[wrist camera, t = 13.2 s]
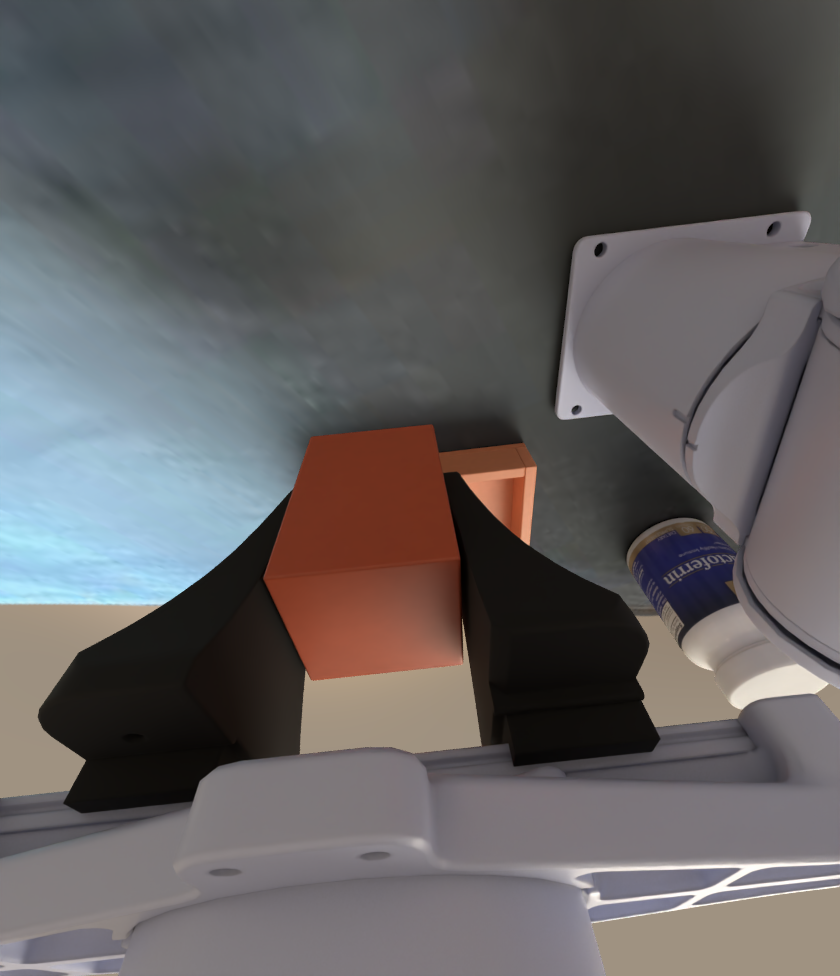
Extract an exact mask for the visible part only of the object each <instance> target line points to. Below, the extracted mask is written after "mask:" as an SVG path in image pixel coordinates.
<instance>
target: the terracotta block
mask: <svg viewBox="0 0 840 976" xmlns="http://www.w3.org/2000/svg"><path fill="white" fill-rule="evenodd" d="M263 579H264V582H265V584H266V586H267V588H268V590H269V593H270V595H271V597H272V599H273V601H274V603H275V605H276V607H277V609H278V612H279V614H280V616H281V618H282V620H283V622H284V624H285V626H286V628H287V631H288V633H289V635H290V637H291V639H292V641H293V643H294V645H295V647H296V650H297V652H298V654H299V656H300V658H301V660H302V662H303V664H304V666H305V669H306V671H307V673H308V675H309V677H310V679H311V680H313V681H314V680H323V679H332V678H341V677H351V676H361V675H370V674H380V673H388V672H398V671H408V670H416V669H426V668H435V667H445V666H454V665H461V664H463V632H462V596H461V560H460V553H459V548H458V544H457V539H456V534H455V529H454V524H453V519H452V514H451V509H450V505H449V500H448V495H447V490H446V485H445V480H444V475H443V470H442V466H441V461H440V456H439V451H438V446H437V441H436V436H435V432H434V427H433V425H431V424H430V425H420V426H410V427H401V428H391V429H381V430H372V431H362V432H352V433H342V434H333V435H323V436H313V437H311V438H310V441H309V444H308V447H307V450H306V453H305V456H304V459H303V462H302V465H301V468H300V471H299V474H298V477H297V480H296V483H295V485H294V488H293V491H292V494H291V497H290V500H289V503H288V506H287V509H286V512H285V515H284V518H283V521H282V524H281V527H280V530H279V533H278V536H277V539H276V542H275V545H274V548H273V551H272V554H271V557H270V560H269V562H268V565H267V568H266V571H265V574H264V578H263Z"/></svg>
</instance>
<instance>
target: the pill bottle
mask: <svg viewBox="0 0 840 976" xmlns="http://www.w3.org/2000/svg"><path fill="white" fill-rule="evenodd" d="M736 555H737V553H736V552H735V551H734V550H733V549H732V548H731V547H730V546H729V545H728V544H727V543H726V542H725V541H724V540H723V539H722V538H721V537H720V536H719V535H718V534H717V533H716V532H715V531H714V530H713V529H712V528H710V527H709V526H708V525H707V524H706V523H704V522H702V521H700V520H697V519H693V518H675V519H670V520H667V521H664V522H661V523H659V524H656V525H654V526H653V527H651V528H649V529H647V530H646V531H644V532H643V533H642V534H641V535H640V536H638V537H637V538H636V539H635V541H634V542H633V543H632V545H631V546H630V548H629V550H628V553H627V565H628V567H629V569H630V571H631V573H632V575H633V576H634V578H635V579H636V581H637V582H638V584H639V585H640V587H641V588H642V590H643V592H644V593H645V595H646V596H647V598H648V599H649V601H650V602H651V604H652V605H653V607H654V608H655V610H656V611H657V613H658V614H659V616H660V617H661V619H662V620H663V622H664V623H665V625H666V626H667V628H668V630H669V631H670V633H671V634H672V636H673V637H674V639H675V640H676V642H677V643H678V645H679V647H680V648H681V649H682V651H683V652H684V654H685V655H686V656H687V657H688V658H689V660H690V661H692V662H693V663H694V664H696V665H698V666H700V667H702V668H705V669H708V670H712V671H714V672H715V683H716V684H717V686H718V687H719V688H720V690H721V691H722V693H723V694H724V695H725V697H726V698H727V700H728V701H729V702H730V704H731V705H733V706H734V707H736V708H738V709H742V710H743V708H744V707H745V706H747V705H748V704H749V703H751V702H754V701H756V700H759V699H764V698H771V697H780V696H789V695H799V694H808V693H812V694H815V693H817V692H819V691H820V690H821V689H823V688H824V687H825V686H826V685H828V684H829V683H827V682H825V681H824V680H822V679H820V678H818V677H817V676H815V675H814V674H812V673H811V672H809V671H808V670H806V669H805V668H803V667H801V666H800V665H798V664H797V663H795V662H794V661H793V660H792V659H790V658H789V657H788V656H787V655H785V654H784V653H783V652H782V651H780V650H779V649H778V648H776V647H775V646H774V645H773V644H772V643H771V642H770V641H769V640H768V639H767V638H766V637H765V636H764V635H763V634H762V633H761V632H760V631H759V630H758V629H757V627H756V626H755V625H754V624H753V622H752V621H751V620H750V618H749V617H748V616H747V614H746V613H745V611H744V609H743V607H742V606H741V604H740V602H739V600H738V598H737V594H736V591H735V588H734V584H733V567H734V562H735V558H736Z"/></svg>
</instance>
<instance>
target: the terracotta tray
mask: <svg viewBox="0 0 840 976" xmlns="http://www.w3.org/2000/svg"><path fill="white" fill-rule="evenodd" d="M439 456H440V461H441V466H442V470H443V473H446V472H456V471H457V472H458V473H459V474H460V475H461V476H462V478H463V479H464V481H465V482H466V483H467V485H468V486H469V487H470V489H471V490H472V491H473V492H474V494H475V495H476V496H477V497H478V498H479V500H480V501H481V502H482V503H483V504H484V505H485V506H486V507H487V508H488V510H489V511H490V512H491V513H492V514H493V515H494V516H495V517H496V518H497V519H498V520H499V521H500V522H501V523H503V524H504V525H505V526H506V527H507V528H508V529H509V530H510V531H511V532H513V533H514V534H515V535H516V536H517V537H519V538H520V539H521V540H522V541H524V542H525V543H526V544H528V545H529V544H530V534H531V523H532V513H533V503H534V492H535V482H536V471H537V465H536V464H535V462H534V460H533V458H532V457H531V455H530V453H529V451H528V450H527V448H526V446H525V444H524V443H518V444H509V445H501V446H492V447H484V448H475V449H467V450H458V451H450V452H442V453H439Z"/></svg>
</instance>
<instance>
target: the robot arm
mask: <svg viewBox="0 0 840 976" xmlns="http://www.w3.org/2000/svg"><path fill="white" fill-rule="evenodd" d="M810 222H811V215H810V214H809V212H806V211H794V212H785V213H777V214H769V215H760V216H752V217H743V218H735V219H727V220H718V221H710V222H701V223H693V224H685V225H676V226H668V227H659V228H651V229H643V230H634V231H626V232H617V233H609V234H601V235H592V236H586V237H583V238H581V239H580V240H579V241H577V243H576V245H575V246H574V249H573V254H572V263H571V271H570V280H569V289H568V297H567V306H566V315H565V323H564V332H563V341H562V349H561V358H560V367H559V375H558V384H557V393H556V401H555V414H556V415H557V416H558V418H560V419H563V420H567V419H575V418H584V417H592V416H601V415H609V414H614V415H615V416H616V417H617V418H618V419H619V420H620V421H622V422H623V423H624V424H625V425H626V426H627V427H628V428H629V429H630V430H631V431H632V432H633V433H635V434H636V435H637V436H638V437H639V438H640V439H641V440H642V441H643V442H644V443H645V444H647V445H648V446H649V447H650V448H651V449H652V450H653V451H654V452H655V453H656V454H657V455H659V456H660V457H661V458H662V459H663V460H664V461H665V462H666V463H667V464H668V465H669V466H671V467H672V468H673V469H674V470H675V471H676V472H677V473H678V474H679V475H680V476H681V477H683V478H684V479H685V480H686V481H687V482H688V483H689V484H690V485H691V486H692V487H693V488H695V489H696V490H697V491H698V492H699V493H700V494H701V495H702V496H703V497H704V498H705V499H706V500H708V501H709V502H710V503H711V504H712V506H713V509H714V518H713V521H714V522H715V523H716V524H717V525H718V526H719V527H720V528H721V529H722V530H723V531H724V532H725V533H726V534H727V535H728V536H729V537H730V538H731V539H732V540H733V541H734V542H736V543H737V544H738V545H739V546H741V547H740V549H739V550H738V552H737V555H736V558H735V562H734V567H733V584H734V588H735V591H736V594H737V598H738V600H739V602H740V604H741V606H742V607H743V609H744V611H745V613H746V614H747V616H748V617H749V618H750V620H751V621H752V622H753V624H754V625H755V626H756V627H757V629H758V630H759V631H760V632H761V633H762V634H763V635H764V636H765V637H766V638H767V639H768V640H769V641H770V642H771V643H772V644H773V645H774V646H775V647H776V648H778V649H779V650H780V651H782V652H783V653H784V654H785V655H787V656H788V657H789V658H790V659H792V660H793V661H794V662H795V663H797V664H798V665H800V666H801V667H803V668H805V669H806V670H808V671H809V672H811V673H812V674H814V675H815V676H817V677H818V678H820V679H822V680H824V681H825V682H827V683H829V684H831V685H833V686H835V687H837V688H839V689H840V245H839V244H827V243H815V242H803V240H804V238H805V235H806V233H807V231H808V228H809V226H810ZM772 223H773V228H772V230H771V232H770V233H769V234H768V235H767V229H768V228H769V226H770V225H771V224H772ZM598 243H602V244H603V250H602V252H601V253H600V254H599V255H598V256H595V255H594V250H595V247H596V246H597V245H598ZM576 405H579V407H578V409H577V410H576V411H573V412H572V411H571V410H572V408H573V407H574V406H576ZM443 475H444V480H445V485H446V490H447V495H448V500H449V505H450V509H451V514H452V519H453V524H454V529H455V534H456V539H457V544H458V548H459V553H460V560H461V596H462V619H463V625H464V631H465V637H466V643H467V650H468V656H469V663H470V668H471V676H472V682H473V688H474V695H475V702H476V709H477V716H478V722H479V729H480V737H481V743H482V746H480V747H471V748H462V749H453V750H443V751H434V752H425V753H415V754H412V753H410V752H406V751H403V750H399V749H395V748H392V747H389V748H388V747H385V748H384V747H376V748H375V747H370V748H369V747H365V748H355V749H347V750H337V751H328V752H318V753H309V754H300V733H301V718H302V703H303V692H304V680H305V670H306V669H305V666H304V664H303V662H302V660H301V658H300V656H299V654H298V652H297V650H296V647H295V645H294V643H293V641H292V639H291V637H290V635H289V633H288V631H287V628H286V626H285V624H284V622H283V620H282V618H281V616H280V614H279V612H278V609H277V607H276V605H275V603H274V601H273V599H272V597H271V595H270V593H269V590H268V588H267V586H266V584H265V582H264V579H263V578H264V574H265V571H266V568H267V565H268V562H269V560H270V557H271V554H272V551H273V548H274V545H275V542H276V539H277V536H278V533H279V530H280V527H281V524H282V521H283V518H284V515H285V512H286V509H287V506H288V503H289V500H290V497H291V494H292V491H293V490H292V491H291V492H290V493H289V494H288V495H287V496H286V497H285V498H284V499H283V501H282V502H281V503H280V504H279V505H278V506H277V507H276V508H275V510H274V511H273V512H272V513H271V514H270V515H269V516H268V517H267V518H266V519H265V520H264V521H263V523H262V524H261V525H260V526H259V527H258V528H257V529H256V530H255V531H254V532H253V533H252V534H251V535H250V536H249V537H248V538H247V539H246V540H245V541H244V542H243V543H242V544H241V545H240V546H239V547H238V548H237V549H236V550H235V551H233V552H232V553H231V554H230V555H229V556H228V557H227V558H226V559H224V560H223V561H222V562H221V563H220V564H219V565H217V566H216V567H215V568H214V569H212V570H211V571H210V572H209V573H208V574H206V575H205V576H204V577H202V578H201V579H200V580H198V581H197V582H195V583H194V584H193V585H191V586H190V587H188V588H187V589H186V590H184V591H183V592H181V593H180V594H179V595H177V596H176V597H175V598H173V599H172V600H170V601H169V602H167V603H165V604H164V605H162V606H161V607H159V608H158V609H156V610H154V611H153V612H151V613H150V614H148V615H146V616H145V617H143V618H141V619H140V620H138V621H136V622H135V623H133V624H131V625H130V626H128V627H126V628H124V629H122V630H120V631H118V632H117V633H115V634H113V635H111V636H109V637H107V638H105V639H104V640H102V641H100V642H98V643H96V644H94V645H92V646H91V647H89V648H87V649H85V650H83V651H81V652H79V653H78V654H77V656H76V657H75V659H74V660H73V662H72V663H71V664H70V666H69V667H68V669H67V670H66V672H65V673H64V674H63V676H62V677H61V679H60V681H59V682H58V683H57V685H56V686H55V687H54V689H53V690H52V692H51V693H50V695H49V696H48V698H47V699H46V700H45V702H44V703H43V705H42V706H41V708H40V709H39V714H38V719H39V721H40V723H41V726H42V728H43V729H44V730H45V731H46V732H47V733H48V734H49V735H50V736H51V737H53V738H54V739H56V740H57V741H59V742H60V743H62V744H63V745H65V746H66V747H68V748H69V749H71V750H72V751H74V752H75V753H77V754H78V755H79V756H81V757H82V758H84V759H85V760H86V762H85V764H84V766H83V767H82V769H81V771H80V773H79V775H78V777H77V779H76V780H75V782H74V784H73V786H72V788H71V790H70V791H64V792H55V793H46V794H36V795H27V796H18V797H8V798H0V976H83V975H97V974H112V973H119V975H118V976H606V974H605V970H604V966H603V963H602V959H601V956H600V952H599V949H598V945H597V942H596V938H595V935H594V931H593V927H592V924H591V923H596V922H603V921H609V920H615V919H622V918H628V917H634V916H641V915H647V914H653V913H660V912H667V911H673V910H679V909H685V908H692V907H698V906H705V905H711V904H717V903H724V902H730V901H737V900H744V899H751V898H757V897H764V896H771V895H778V894H786V893H794V892H800V891H808V890H817V889H825V888H834V887H840V721H839V719H838V718H837V717H836V716H835V715H834V714H833V713H832V711H831V710H830V709H829V708H828V707H827V706H826V705H825V704H824V702H823V701H822V700H821V699H820V698H819V697H818V696H817V695H815V694H812V693H808V694H799V695H789V696H780V697H771V698H764V699H759V700H756V701H754V702H751V703H749V704H748V705H747V706H745V707H744V708H743V710H742V711H741V713H740V714H739V717H738V719H729V720H720V721H711V722H702V723H692V724H683V725H674V726H665V727H654V725H653V723H652V721H651V719H650V717H649V715H648V713H647V711H646V709H645V707H644V705H643V703H642V701H641V700H643V699H644V692H643V690H642V688H641V686H640V685H639V683H638V681H637V679H636V676H637V674H638V672H639V670H640V668H641V666H642V664H643V661H644V659H645V657H646V655H647V652H648V648H649V640H648V637H647V634H646V633H645V631H644V630H643V628H642V626H641V625H640V623H639V621H638V620H637V618H636V617H635V615H634V614H633V612H632V611H631V610H630V608H629V607H628V606H627V605H626V603H625V602H624V601H623V600H622V598H621V597H620V595H618V594H616V593H614V592H612V591H610V590H607V589H605V588H603V587H601V586H599V585H596V584H594V583H592V582H590V581H588V580H585V579H583V578H581V577H580V576H578V575H576V574H574V573H572V572H570V571H568V570H567V569H565V568H563V567H561V566H559V565H558V564H556V563H554V562H553V561H551V560H550V559H548V558H547V557H545V556H544V555H542V554H540V553H539V552H537V551H536V550H534V549H533V548H532V547H530V546H529V545H528V544H526V543H525V542H524V541H522V540H521V539H520V538H519V537H517V536H516V535H515V534H514V533H513V532H511V531H510V530H509V529H508V528H507V527H506V526H505V525H504V524H503V523H501V522H500V521H499V520H498V519H497V518H496V517H495V516H494V515H493V514H492V513H491V512H490V511H489V510H488V508H487V507H486V506H485V505H484V504H483V503H482V502H481V501H480V500H479V498H478V497H477V496H476V495H475V494H474V492H473V491H472V490H471V489H470V487H469V486H468V485H467V483H466V482H465V481H464V479H463V478H462V476H461V475H460V474H459V473H458V472H457V471H456V472H446V473H443ZM299 754H300V755H299Z"/></svg>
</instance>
